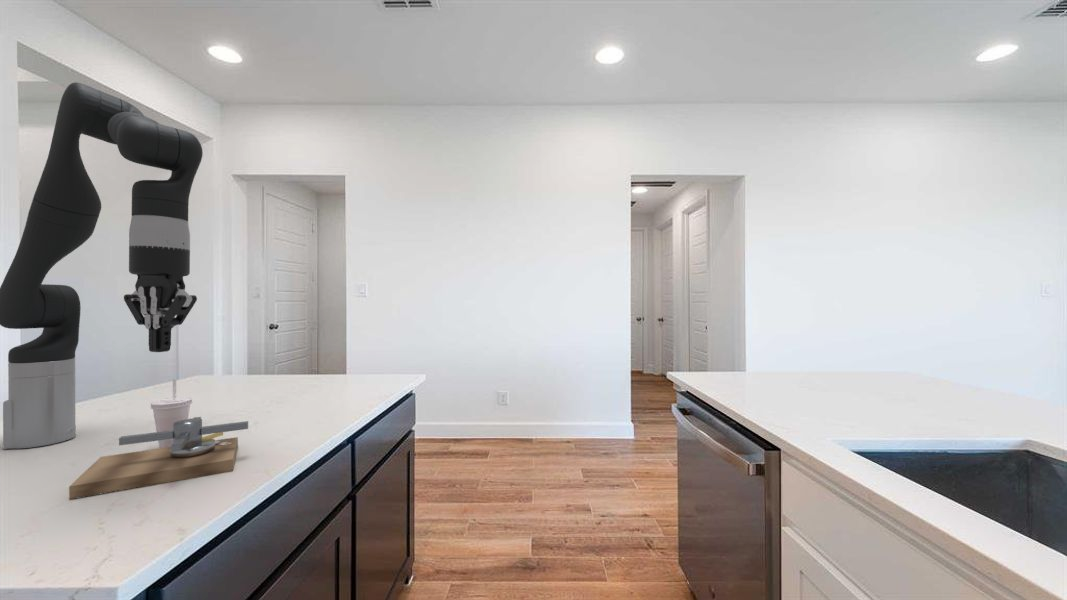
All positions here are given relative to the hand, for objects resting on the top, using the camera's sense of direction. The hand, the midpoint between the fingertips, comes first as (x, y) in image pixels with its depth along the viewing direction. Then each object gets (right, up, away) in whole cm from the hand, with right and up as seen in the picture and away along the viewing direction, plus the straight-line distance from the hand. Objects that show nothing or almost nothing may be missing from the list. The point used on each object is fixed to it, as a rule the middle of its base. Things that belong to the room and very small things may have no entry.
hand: (159, 351), depth 70 cm
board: (-3, -21, +5) cm, 22 cm away
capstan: (-1, -19, +6) cm, 20 cm away
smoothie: (-11, -22, +15) cm, 29 cm away
